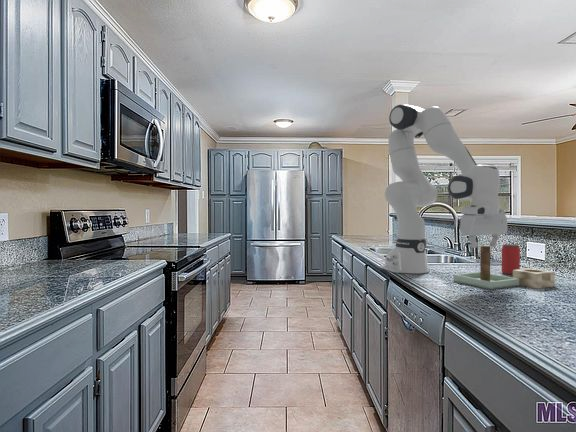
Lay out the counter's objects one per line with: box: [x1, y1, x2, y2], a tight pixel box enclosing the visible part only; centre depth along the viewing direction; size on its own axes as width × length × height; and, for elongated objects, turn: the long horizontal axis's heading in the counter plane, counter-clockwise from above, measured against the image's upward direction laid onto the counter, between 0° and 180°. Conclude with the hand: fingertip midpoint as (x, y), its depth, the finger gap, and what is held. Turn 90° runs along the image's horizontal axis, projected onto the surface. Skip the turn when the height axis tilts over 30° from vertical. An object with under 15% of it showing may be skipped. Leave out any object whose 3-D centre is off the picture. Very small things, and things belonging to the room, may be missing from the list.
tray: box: [453, 271, 520, 290], centre depth 138 cm, size 16×14×2 cm
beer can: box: [501, 243, 521, 276], centre depth 158 cm, size 7×7×12 cm
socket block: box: [512, 267, 556, 289], centre depth 135 cm, size 9×9×5 cm
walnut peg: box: [479, 245, 491, 281], centre depth 138 cm, size 3×3×13 cm
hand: (483, 247), depth 138 cm, fingers open, 8 cm apart
